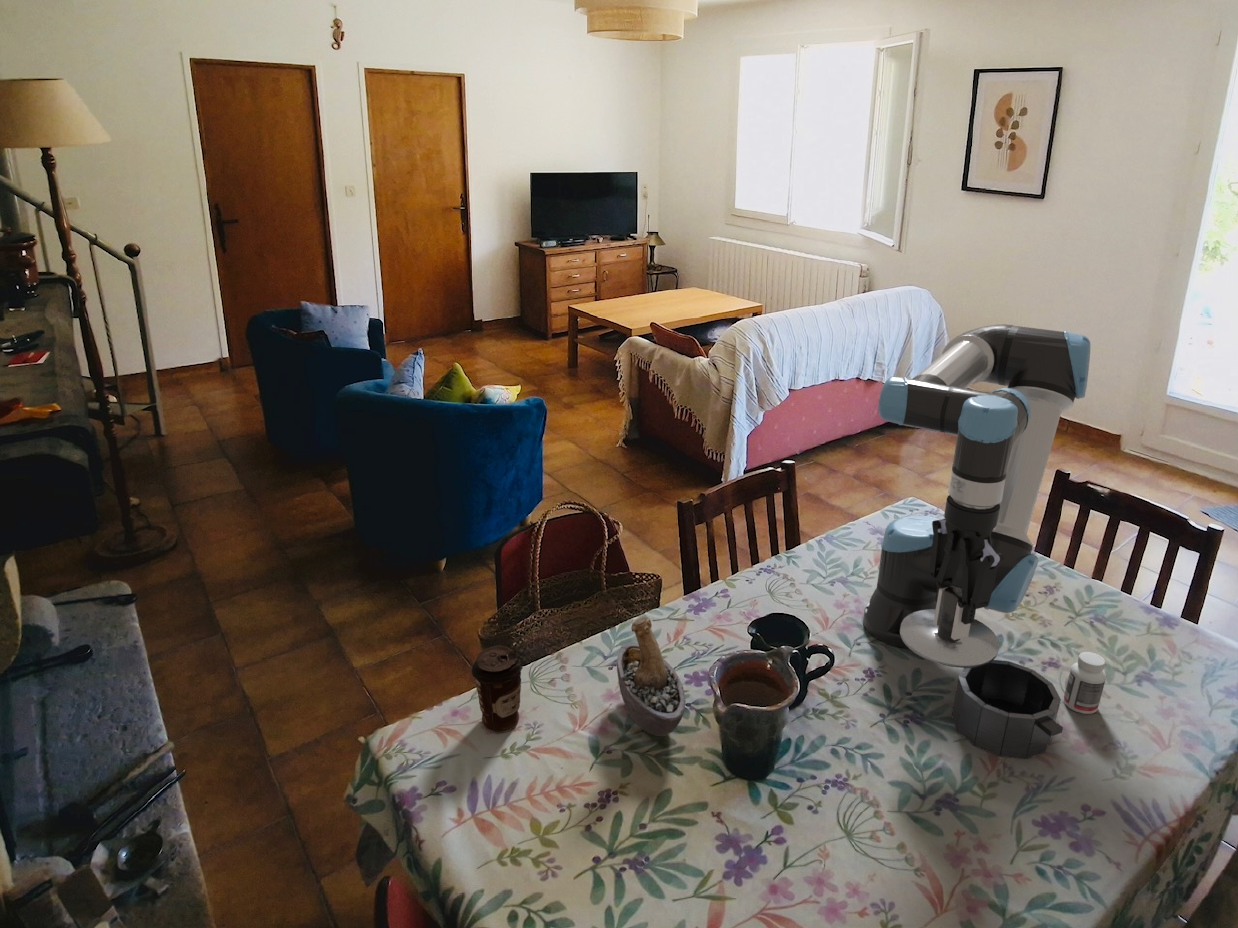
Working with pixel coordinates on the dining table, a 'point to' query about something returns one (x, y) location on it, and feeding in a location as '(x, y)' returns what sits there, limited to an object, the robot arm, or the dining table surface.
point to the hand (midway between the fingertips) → (950, 629)
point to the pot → (1006, 709)
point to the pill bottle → (1085, 683)
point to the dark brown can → (498, 687)
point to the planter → (649, 683)
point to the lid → (948, 636)
